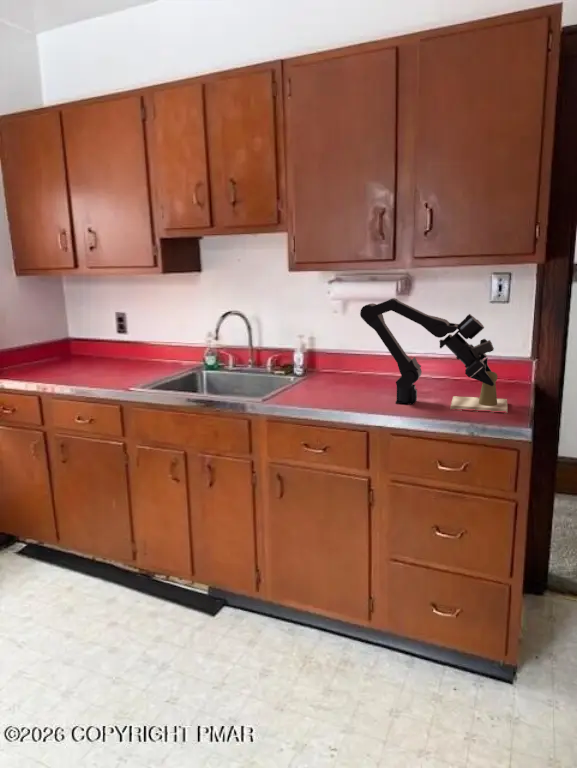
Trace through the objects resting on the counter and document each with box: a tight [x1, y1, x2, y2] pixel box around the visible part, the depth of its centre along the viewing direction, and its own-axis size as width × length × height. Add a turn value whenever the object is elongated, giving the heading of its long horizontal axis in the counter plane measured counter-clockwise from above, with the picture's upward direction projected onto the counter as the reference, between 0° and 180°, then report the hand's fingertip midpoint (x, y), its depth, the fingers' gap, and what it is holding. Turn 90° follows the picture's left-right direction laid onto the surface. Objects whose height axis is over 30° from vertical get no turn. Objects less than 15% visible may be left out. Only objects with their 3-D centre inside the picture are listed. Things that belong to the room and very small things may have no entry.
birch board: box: [450, 395, 508, 413], centre depth 195 cm, size 18×13×2 cm
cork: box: [479, 370, 498, 406], centre depth 192 cm, size 6×6×11 cm
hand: (493, 382), depth 191 cm, fingers open, 9 cm apart
